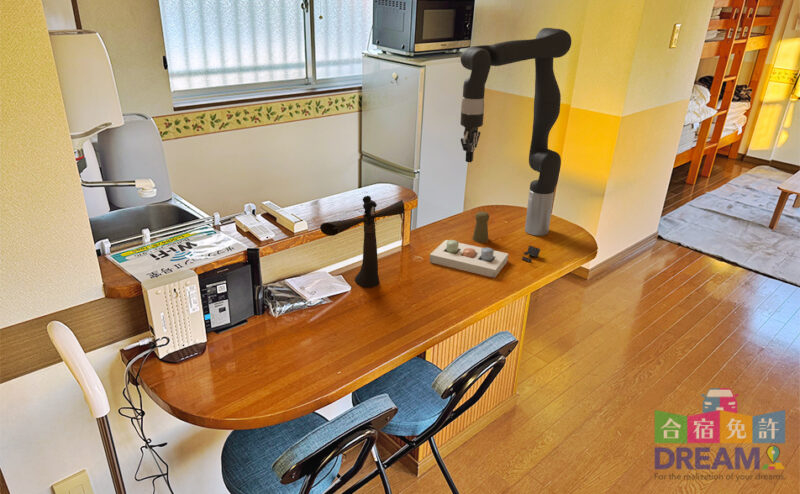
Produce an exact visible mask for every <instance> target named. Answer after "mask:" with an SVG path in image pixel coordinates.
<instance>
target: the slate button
mask: <svg viewBox="0 0 800 494" xmlns="http://www.w3.org/2000/svg"><path fill="white" fill-rule="evenodd" d="M481 248H482V249H481V258H480V260H483V261H487V262H492V261H493V260H494V259H493V253H494V251H495V250H494V249H493V248H491V247H481Z"/></svg>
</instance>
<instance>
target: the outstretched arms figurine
mask: <svg viewBox="0 0 800 494" xmlns="http://www.w3.org/2000/svg"><path fill="white" fill-rule="evenodd" d="M362 202H363V204H362V207H363V209H364V213H363V216H362V217H356V218H355V217H354V218H349V219H348V218H347V219H342V220H334V221H328V222H323V223H321V224H320V226H319V229H320V231H321V233H322V234H324V235H326V236H329V237H333V236H336V235H338V234H340V233H342V232H344V231H347V230H349V229H351V228H353V227H356V226H357V225H360V224H361V223H363V245H362V250H363V252H362V262H361V263H362V264H361V267H360V270H359V272H358V273H357V274H356V276H354V281H355V282H356V284H357V285H359V286H360V287H363V288H375V287H377V286H379V285H380V283H381V282H380V278H379V264H378V261H379V260H378V244H377V235H376V230H377V229H376V225H377V218H384V217H389V216H390V217H391V216H397V215H403V214H405V211H406V209H405V202H404V201H403V200H402V199H401V200H399V201H396V202H395V203H393V204H391V205H389V206H387V207H384V208H382V209H381V210H378V211H377V212H376V207H377V205H378V203H377V202H376V201H374V200H373V199H372V198H371V195H364V197H363V198H362Z"/></svg>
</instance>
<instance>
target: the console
mask: <svg viewBox="0 0 800 494" xmlns="http://www.w3.org/2000/svg"><path fill="white" fill-rule="evenodd" d="M449 240H450V239H449ZM449 240H448V239H445V240H444V241H442V243H441V244H439V245H438V246H437V247H436V248H435V249H433V251H432V252H431V253H430V254H429V263H432V264H436V265H440V266H444V267H449V268H452V269H456V270H460V271H464V272H469V273H473V274H477V275H482V276H485V277H489V278H490V277H491V278H494V279H495V278H496V277H497V275H498V274H499V273H500V272H501V271H502V269H503V268H504V267H505V265H506V264H507V263H508V261H509V253H506V252H502V251H500V250H494V253H493V261H492V262H487V261H483V260H481V249H482V248H483V247H482V246H476V245H472V244H467V243H462V242H458V253H457V254H452V253H448V252H446V245H447V241H449ZM466 248H472V249H474V250H475V251H476V252H475V257H474V258H470V257H465V256H463V250H464V249H466Z"/></svg>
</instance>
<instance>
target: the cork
mask: <svg viewBox="0 0 800 494" xmlns="http://www.w3.org/2000/svg"><path fill="white" fill-rule="evenodd" d="M474 218H475V226H474V230H473V236H472V241H474V242H476V243H487V242H488V241H489V228H488V226H489V225H488V222H489V219H490V215H489V213H488V212H486V211H483V210H482V211H478V212H476V213H475V216H474Z"/></svg>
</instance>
